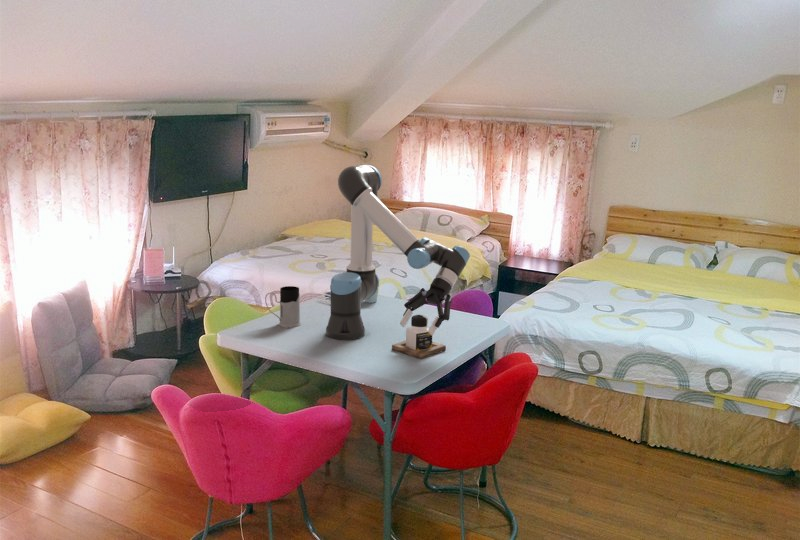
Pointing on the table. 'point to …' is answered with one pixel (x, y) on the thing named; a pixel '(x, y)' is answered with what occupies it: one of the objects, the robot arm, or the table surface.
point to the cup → (372, 298)
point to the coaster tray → (418, 354)
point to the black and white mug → (288, 306)
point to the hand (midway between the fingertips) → (415, 329)
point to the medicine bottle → (418, 334)
